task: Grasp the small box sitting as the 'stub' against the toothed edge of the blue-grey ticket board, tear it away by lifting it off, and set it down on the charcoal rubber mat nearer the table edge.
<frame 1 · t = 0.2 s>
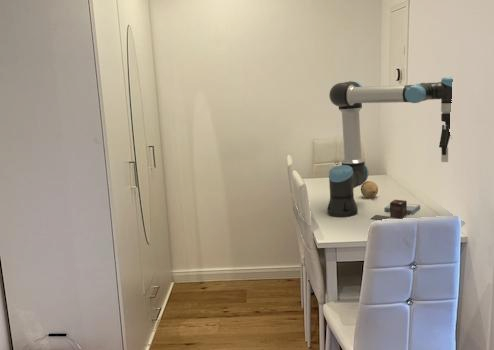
hand: (450, 159, 221), 27 cm above the table, fingers open, 13 cm apart
ticket board: (402, 210, 243), on the table
stub mat: (380, 218, 233), on the table
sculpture: (370, 198, 270), on the table
box: (398, 216, 234), on the table
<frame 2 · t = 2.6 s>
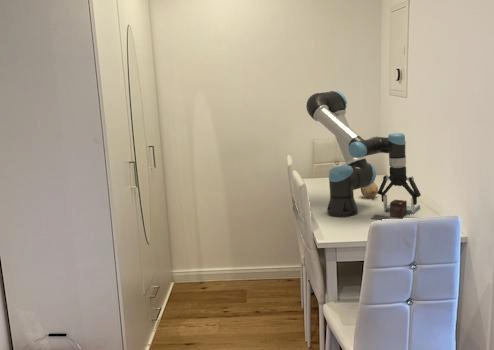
hand: (399, 209, 233), 3 cm above the table, fingers open, 13 cm apart
nothing on the table moved.
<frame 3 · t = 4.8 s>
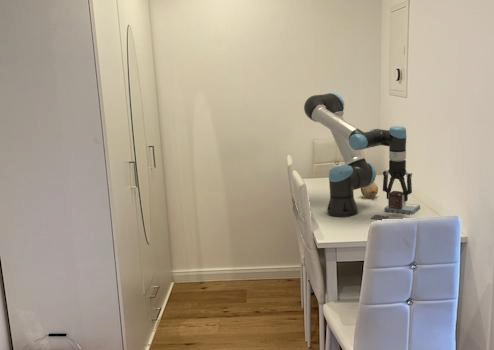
hand: (396, 206, 234), 5 cm above the table, fingers closed on box, 6 cm apart
box: (396, 207, 234), point 4 cm above the table, touching gripper
everything else where it was.
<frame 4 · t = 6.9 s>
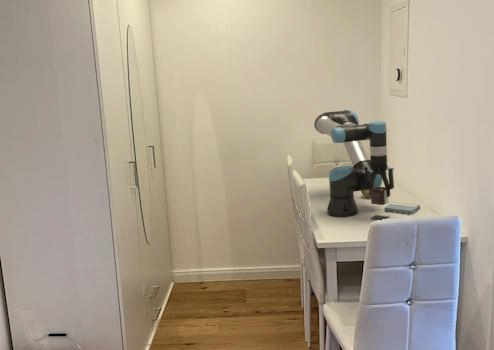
hand: (379, 202, 232), 8 cm above the table, fingers closed on box, 6 cm apart
box: (379, 203, 232), point 7 cm above the table, touching gripper
everything else where it was.
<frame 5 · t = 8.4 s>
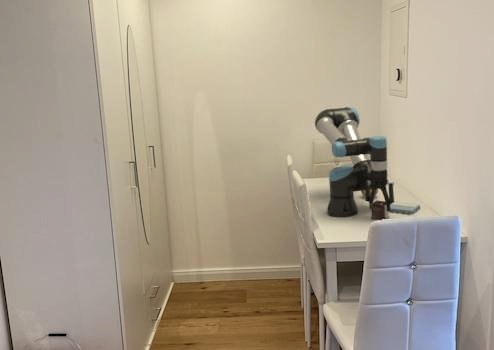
hand: (380, 216, 233), 1 cm above the table, fingers closed on box, 6 cm apart
box: (379, 217, 233), resting on stub mat, touching gripper
everything else where it was.
when the fingers open (1 cm above the table, at t = 8.8 s): box stays where it is, resting on stub mat.
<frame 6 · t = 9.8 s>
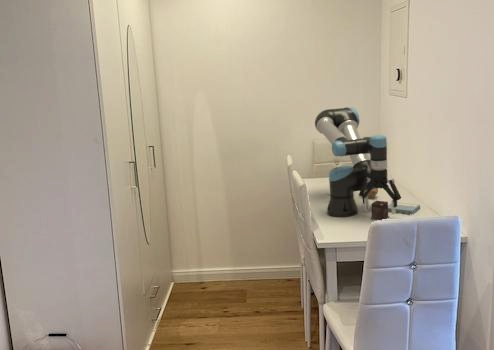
hand: (379, 212, 233), 3 cm above the table, fingers open, 13 cm apart
box: (379, 217, 233), resting on stub mat
everything else where it was.
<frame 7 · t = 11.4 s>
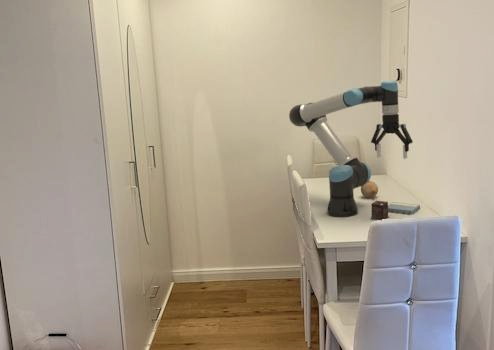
hand: (391, 157, 236), 27 cm above the table, fingers open, 13 cm apart
nothing on the table moved.
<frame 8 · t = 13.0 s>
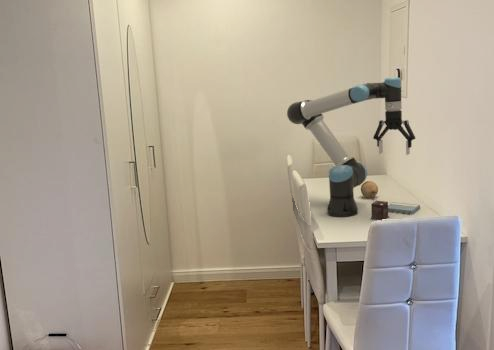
hand: (394, 153, 238), 29 cm above the table, fingers open, 13 cm apart
nothing on the table moved.
at the end: box 0.1 cm from the stub mat (horizontally); box tilted 0°; box resting on stub mat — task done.
